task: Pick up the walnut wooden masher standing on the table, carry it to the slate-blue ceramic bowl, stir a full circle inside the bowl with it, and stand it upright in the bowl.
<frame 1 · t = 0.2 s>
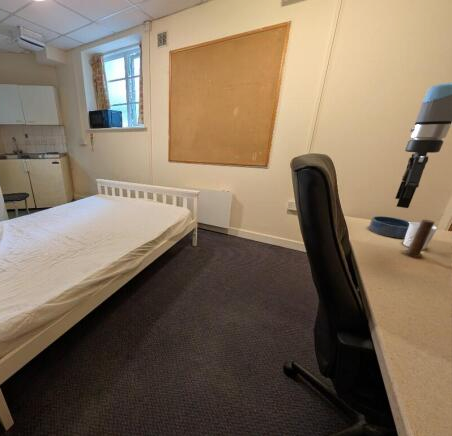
hand: (401, 203, 78), 24 cm above the table, tool pointing down, fingers open, 13 cm apart
white cup: (413, 246, 98), on the table
wooden masher: (412, 255, 90), on the table
bowl: (388, 232, 111), on the table
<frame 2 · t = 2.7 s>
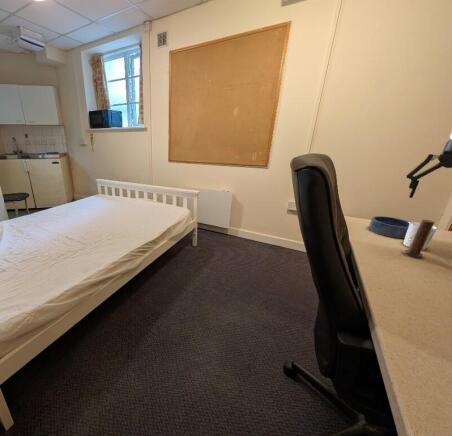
hand: (437, 200, 82), 23 cm above the table, tool pointing down, fingers open, 13 cm apart
nothing on the table moved.
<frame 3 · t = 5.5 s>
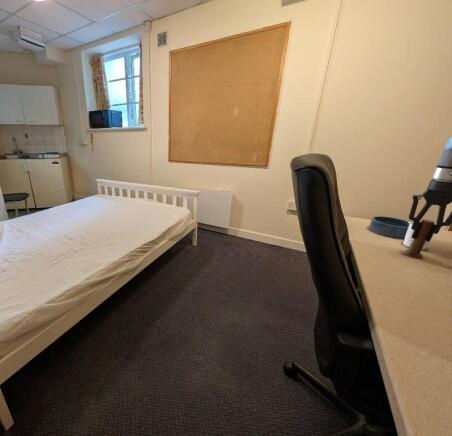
hand: (420, 238, 87), 8 cm above the table, tool pointing down, fingers closed on wooden masher, 3 cm apart
wooden masher: (412, 255, 90), on the table, touching gripper
everything else where it was.
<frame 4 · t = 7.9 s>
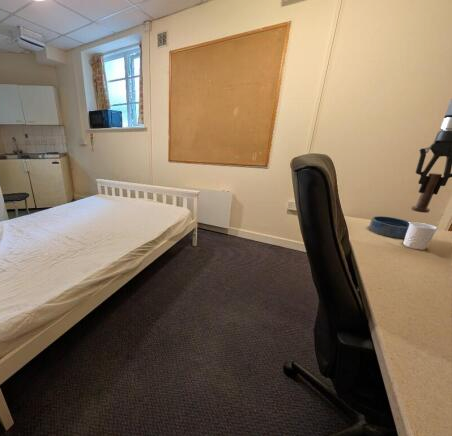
hand: (427, 192, 88), 25 cm above the table, tool pointing down, fingers closed on wooden masher, 3 cm apart
wooden masher: (419, 210, 91), point 17 cm above the table, touching gripper
everything else where it was.
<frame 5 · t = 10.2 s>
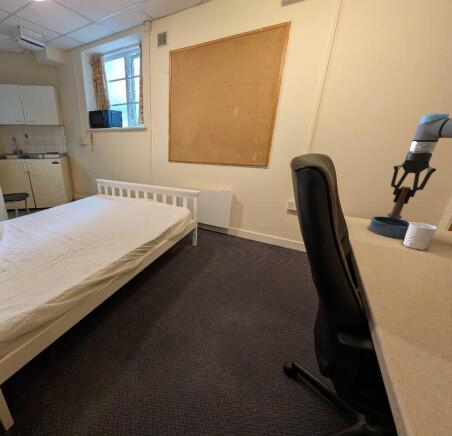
hand: (400, 202, 106), 16 cm above the table, tool pointing down, fingers closed on wooden masher, 3 cm apart
wooden masher: (394, 217, 109), point 8 cm above the table, touching gripper
everything else where it was.
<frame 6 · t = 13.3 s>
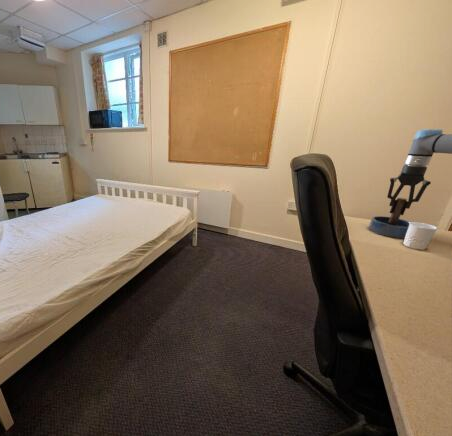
hand: (396, 213, 109), 10 cm above the table, tool pointing down, fingers closed on wooden masher, 3 cm apart
wooden masher: (390, 227, 112), point 2 cm above the table, touching gripper
everything else where it was.
when the fingers open (8 cm above the table, at t = 15.2 s): wooden masher stays where it is, resting on bowl.
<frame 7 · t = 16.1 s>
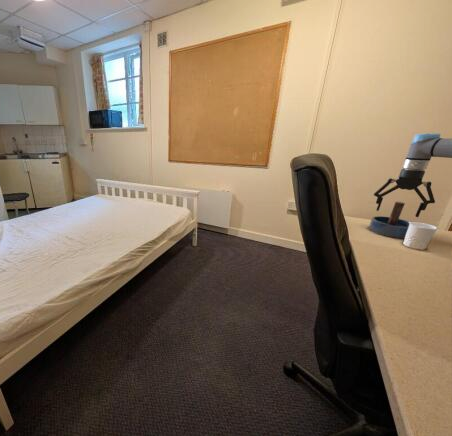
hand: (396, 213, 108), 10 cm above the table, tool pointing down, fingers open, 13 cm apart
wooden masher: (388, 231, 111), point 1 cm above the table, touching bowl
everything else where it was.
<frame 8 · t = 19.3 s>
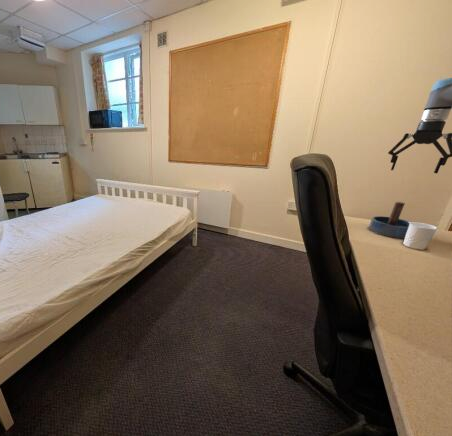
hand: (412, 171, 101), 31 cm above the table, tool pointing down, fingers open, 13 cm apart
nothing on the table moved.
at the end: wooden masher inside the target area in the bowl (0.1 cm from its centre), point 0.6 cm above the bowl's base; wooden masher tilted 0°; wooden masher moved 26.0 cm from its start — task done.
